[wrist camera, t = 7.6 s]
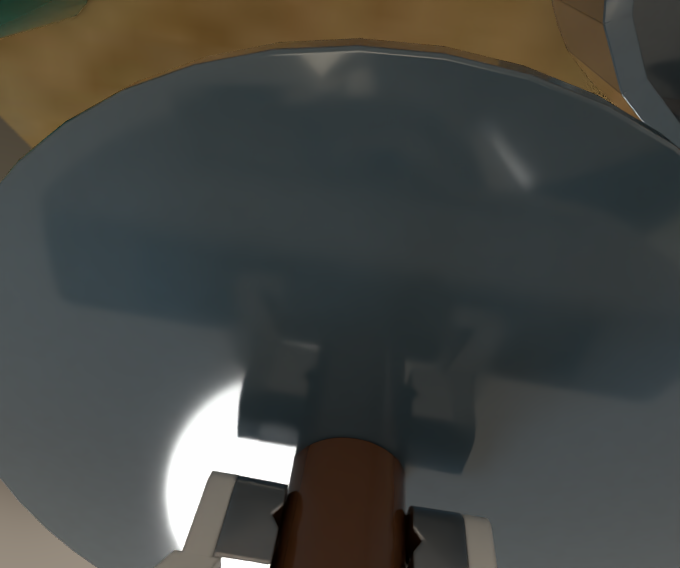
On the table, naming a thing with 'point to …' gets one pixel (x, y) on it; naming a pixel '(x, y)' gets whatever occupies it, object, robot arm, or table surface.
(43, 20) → the green bottle
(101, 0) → the table surface
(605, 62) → the canister
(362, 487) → the lid
